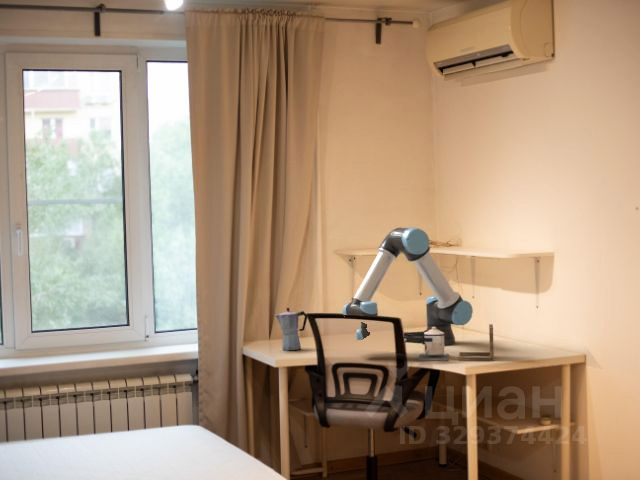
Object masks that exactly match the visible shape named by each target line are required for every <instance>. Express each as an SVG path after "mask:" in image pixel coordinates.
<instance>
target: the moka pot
mask: <svg viewBox="0 0 640 480" xmlns="http://www.w3.org/2000/svg"><path fill="white" fill-rule="evenodd" d="M301 316H304V318H303V324H302V328H300V329H299V317H301ZM274 317H275V318H276V319H277V321H278V323H279V325H280V329H281V331H282V335H281V336H282V343H281V344H282V345H281V346H282V347H281V349H282V351H287V352H288V351H296V350H300V349H301V348H302V346H301V342H300V336H299V334H298V332H302V331H305V327H306V325H307V320H308V314H306V313H305V312H304V310H302V311H296V312H294V311H290V307H286V311H284V312H281V313H277V314H276V315H275V316H274Z"/></svg>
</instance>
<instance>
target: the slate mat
mask: <svg viewBox="0 0 640 480" xmlns="http://www.w3.org/2000/svg"><path fill="white" fill-rule="evenodd" d="M448 360H449V353H448V354H447V353H444V354H440V355H428V354H425V353H420V354H418V356H417V359H416V361H417V362H448Z"/></svg>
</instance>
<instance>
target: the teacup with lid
mask: <svg viewBox="0 0 640 480" xmlns="http://www.w3.org/2000/svg"><path fill="white" fill-rule="evenodd" d="M444 335H445V334H444V332H441V331H439V330H438V329H436V327H432V329H431V330H429V331H427V332H425V333H424V337H425V336H440V343H425V345H424V354H428V355H440V354H446V353H445V351H446V350H445V345H444Z"/></svg>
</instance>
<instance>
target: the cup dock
mask: <svg viewBox="0 0 640 480" xmlns="http://www.w3.org/2000/svg"><path fill="white" fill-rule="evenodd" d="M488 329H489V331H488V332H489V333H488V334H489V339H488V340H489V351H483V352H481V351H479V352H478V351H473V352H472V351H471V352H470V351H468V352H467V351H459V355H458V356H459V357H458V362H494V361H495V360H494V359H495V358H494V355H495V354H494V352H495V351H494V348H495V347H494V325H493V324H492V323H491V324H488Z"/></svg>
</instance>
